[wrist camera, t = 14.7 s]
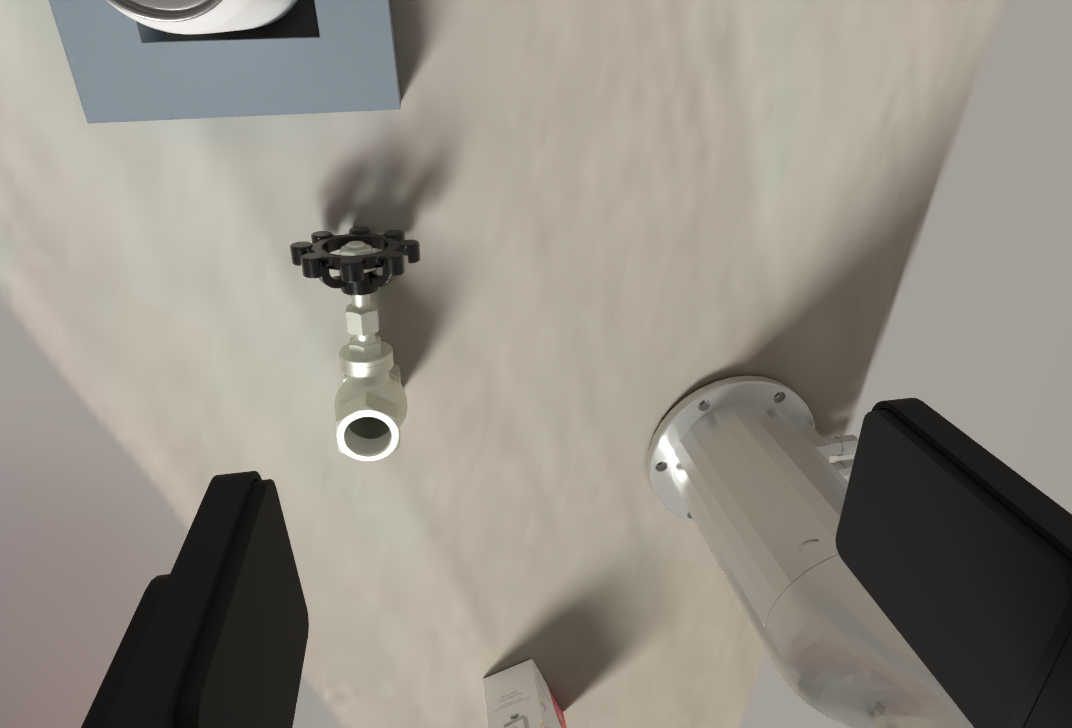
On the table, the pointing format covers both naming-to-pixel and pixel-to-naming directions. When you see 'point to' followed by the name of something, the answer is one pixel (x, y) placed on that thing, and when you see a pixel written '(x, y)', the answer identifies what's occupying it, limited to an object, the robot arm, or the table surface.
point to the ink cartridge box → (520, 699)
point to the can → (204, 14)
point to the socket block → (229, 66)
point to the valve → (363, 335)
